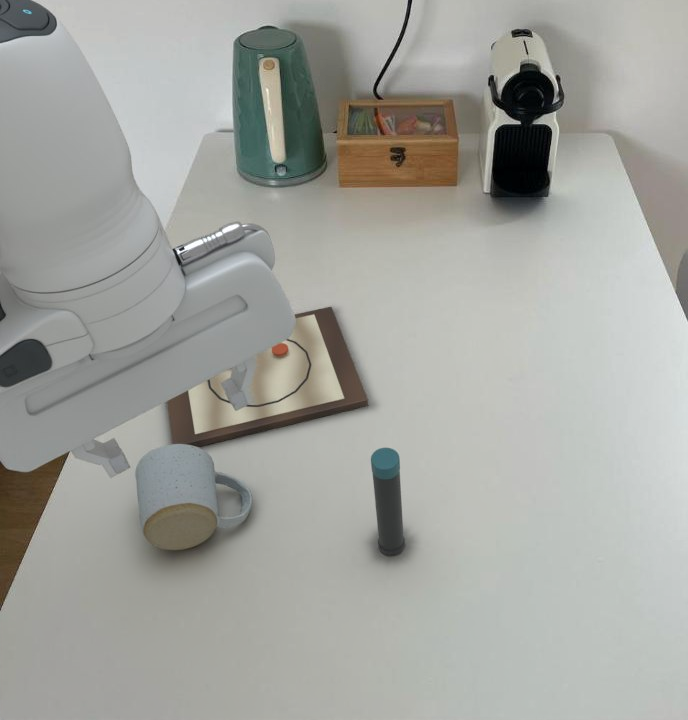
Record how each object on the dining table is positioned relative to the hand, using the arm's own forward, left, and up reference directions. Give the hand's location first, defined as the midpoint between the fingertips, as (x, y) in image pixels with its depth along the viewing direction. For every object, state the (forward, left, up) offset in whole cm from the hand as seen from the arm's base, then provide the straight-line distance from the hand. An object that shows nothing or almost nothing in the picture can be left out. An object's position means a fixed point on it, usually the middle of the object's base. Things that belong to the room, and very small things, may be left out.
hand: (181, 433), depth 57 cm
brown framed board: (+7, +31, -25) cm, 41 cm away
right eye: (+10, +33, -23) cm, 42 cm away
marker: (+15, +3, -25) cm, 29 cm away
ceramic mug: (-2, +13, -25) cm, 28 cm away
